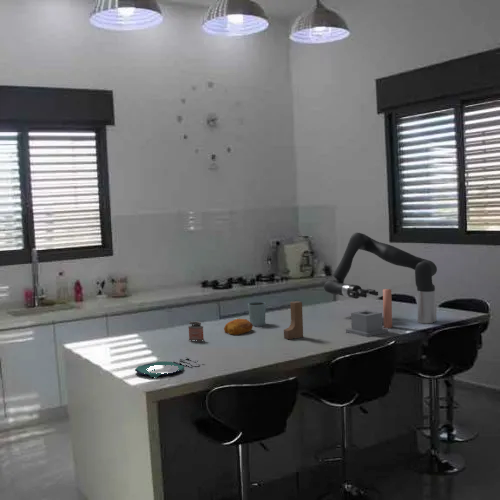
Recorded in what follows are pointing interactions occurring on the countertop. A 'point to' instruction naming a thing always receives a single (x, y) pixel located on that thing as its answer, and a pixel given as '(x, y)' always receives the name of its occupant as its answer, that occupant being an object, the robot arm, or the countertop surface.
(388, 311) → the peg
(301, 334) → the wooden block
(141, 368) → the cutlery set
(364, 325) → the block
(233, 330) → the bread loaf
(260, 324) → the drinking glass
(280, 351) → the countertop surface
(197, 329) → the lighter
